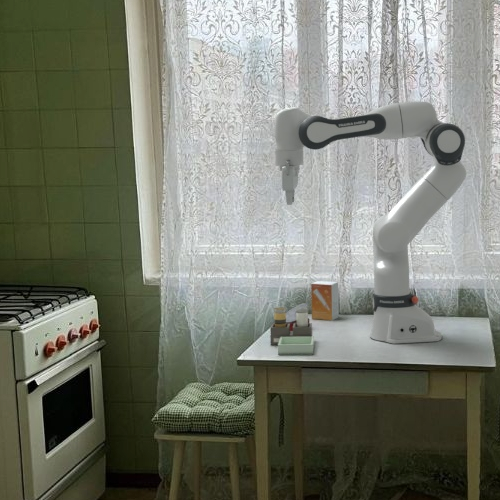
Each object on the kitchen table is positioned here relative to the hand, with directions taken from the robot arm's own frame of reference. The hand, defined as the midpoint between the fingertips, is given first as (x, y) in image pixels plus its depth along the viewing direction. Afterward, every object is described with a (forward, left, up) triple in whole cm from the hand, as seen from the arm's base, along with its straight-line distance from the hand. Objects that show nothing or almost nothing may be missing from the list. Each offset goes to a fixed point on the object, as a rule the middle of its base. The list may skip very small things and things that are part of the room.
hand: (290, 203), depth 264 cm
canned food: (0, -16, -44) cm, 47 cm away
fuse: (-3, +5, -41) cm, 41 cm away
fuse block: (+1, +5, -44) cm, 44 cm away
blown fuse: (+4, +5, -41) cm, 41 cm away
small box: (-10, -31, -44) cm, 55 cm away
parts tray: (-2, +15, -44) cm, 46 cm away
